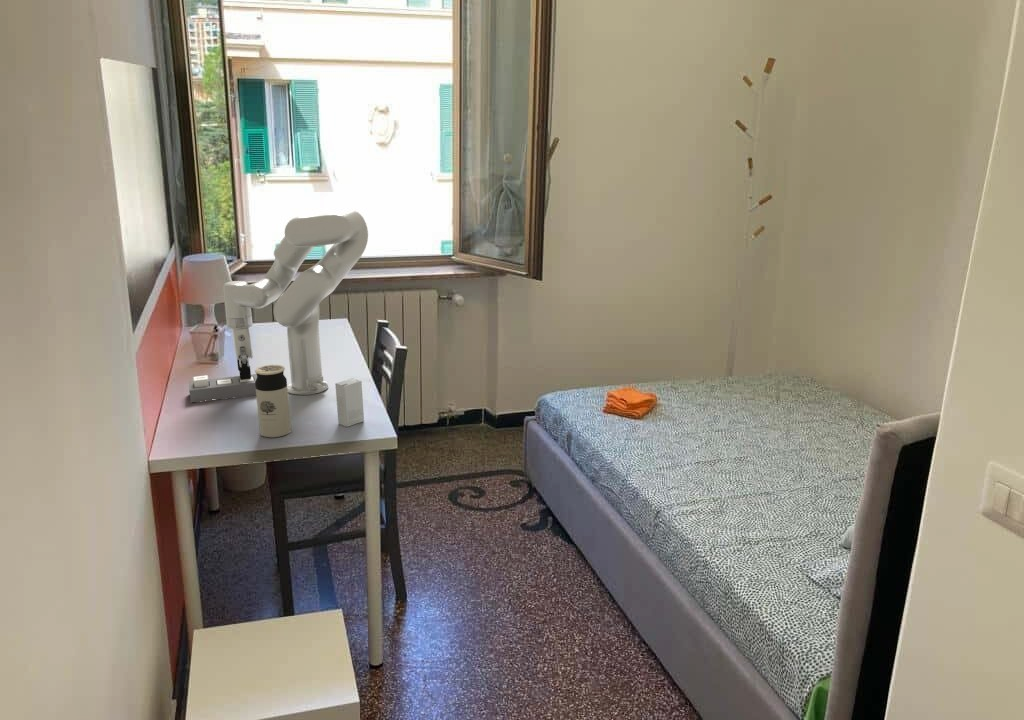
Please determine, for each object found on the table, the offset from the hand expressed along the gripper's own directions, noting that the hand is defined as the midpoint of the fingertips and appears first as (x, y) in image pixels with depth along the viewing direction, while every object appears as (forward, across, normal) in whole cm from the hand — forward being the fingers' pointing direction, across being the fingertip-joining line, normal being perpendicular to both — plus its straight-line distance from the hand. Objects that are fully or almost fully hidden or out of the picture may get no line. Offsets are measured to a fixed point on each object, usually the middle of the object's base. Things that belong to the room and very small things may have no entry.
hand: (244, 374), depth 244 cm
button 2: (+2, -5, 0) cm, 6 cm away
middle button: (+2, -5, +6) cm, 8 cm away
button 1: (+1, -5, +13) cm, 14 cm away
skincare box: (+4, -44, -25) cm, 50 cm away
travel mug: (+4, -43, -5) cm, 43 cm away
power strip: (+4, -5, +6) cm, 9 cm away
